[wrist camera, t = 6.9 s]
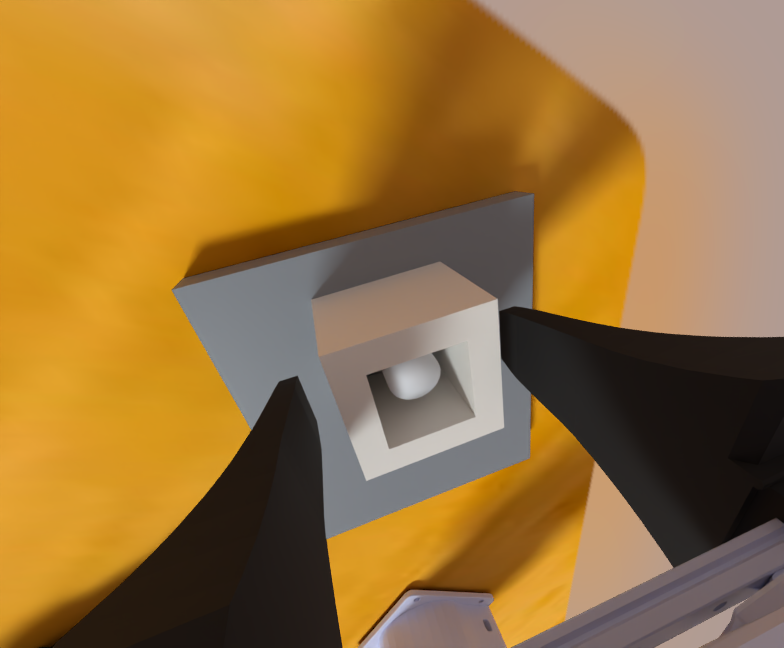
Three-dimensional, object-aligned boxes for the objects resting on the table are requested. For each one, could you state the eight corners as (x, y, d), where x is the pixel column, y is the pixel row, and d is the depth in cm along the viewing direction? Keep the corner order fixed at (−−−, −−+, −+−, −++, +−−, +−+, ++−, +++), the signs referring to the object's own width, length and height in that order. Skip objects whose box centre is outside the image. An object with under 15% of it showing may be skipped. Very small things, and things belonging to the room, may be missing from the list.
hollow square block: (454, 365, 15) (504, 428, 11) (348, 402, 14) (366, 481, 11) (440, 261, 12) (497, 299, 9) (311, 299, 12) (318, 357, 8)
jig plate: (517, 443, 20) (566, 503, 17) (314, 522, 18) (320, 609, 15) (515, 191, 13) (599, 201, 10) (183, 278, 11) (130, 332, 8)
